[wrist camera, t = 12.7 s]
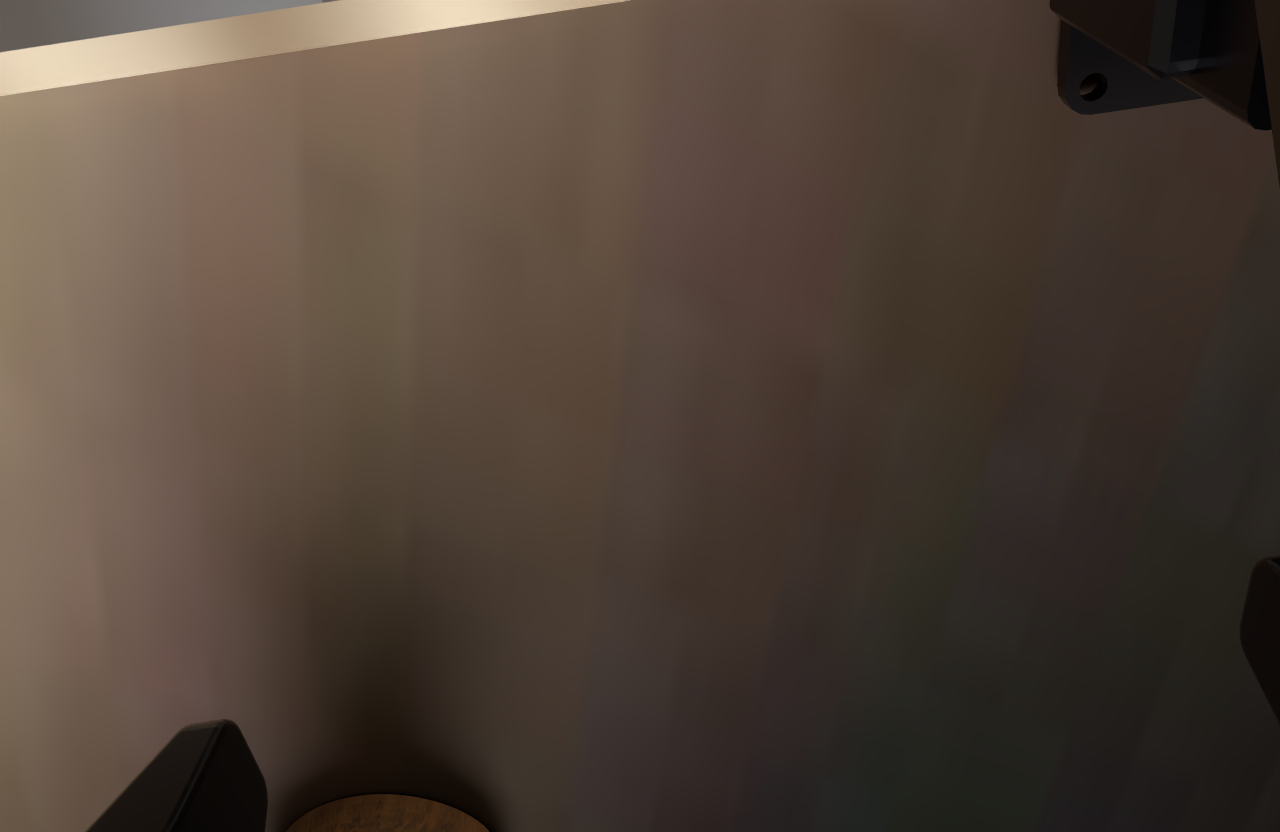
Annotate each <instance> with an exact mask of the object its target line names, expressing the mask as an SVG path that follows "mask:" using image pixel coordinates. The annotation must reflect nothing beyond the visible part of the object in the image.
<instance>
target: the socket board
mask: <svg viewBox="0 0 1280 832" xmlns="http://www.w3.org/2000/svg"><path fill="white" fill-rule="evenodd" d="M622 1H629V0H0V96H4V95H10V94H17V93H23V92H30V91H37V90H43V89H50V88H56V87H63V86H69V85H76V84H83V83H89V82H96V81H102V80H109V79H116V78H122V77H129V76H135V75H142V74H148V73H155V72H162V71H168V70H175V69H181V68H188V67H195V66H201V65H208V64H214V63H221V62H227V61H234V60H241V59H247V58H254V57H260V56H267V55H274V54H280V53H287V52H293V51H300V50H306V49H313V48H320V47H326V46H333V45H339V44H346V43H353V42H359V41H366V40H372V39H379V38H385V37H392V36H399V35H405V34H412V33H418V32H425V31H432V30H438V29H445V28H451V27H458V26H464V25H471V24H478V23H484V22H491V21H497V20H504V19H511V18H517V17H524V16H530V15H537V14H543V13H550V12H557V11H563V10H570V9H576V8H583V7H590V6H596V5H603V4H609V3H616V2H622Z"/></svg>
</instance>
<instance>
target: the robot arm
mask: <svg viewBox="0 0 1280 832" xmlns="http://www.w3.org/2000/svg"><path fill="white" fill-rule="evenodd" d="M1050 8H1051V10H1052V11H1053V12H1054V13H1055V14H1056V15H1057V16H1058V17H1060V18H1061V19H1062V30H1061V43H1060V57H1059V70H1058V83H1057V86H1058V94H1059V96H1060V98H1061V99H1062V101H1063V102H1064V103H1065V104H1066V105H1067V106H1068V107H1070V108H1071V109H1072V110H1074V111H1076V112H1078V113H1080V114H1089V115H1092V114H1098V113H1105V112H1112V111H1119V110H1126V109H1133V108H1139V107H1146V106H1153V105H1160V104H1167V103H1174V102H1181V101H1187V100H1194V99H1201V98H1205V99H1207V100H1208V101H1210V102H1212V103H1213V104H1215V105H1216V106H1218V107H1220V108H1221V109H1223V110H1225V111H1226V112H1228V113H1230V114H1231V115H1233V116H1235V117H1236V118H1238V119H1240V120H1241V121H1243V122H1245V123H1246V124H1248V125H1250V126H1251V127H1253V128H1255V129H1259V130H1272V134H1273V141H1274V148H1275V156H1276V163H1277V171H1278V178H1279V186H1280V0H1050ZM1093 73H1098V75H1099V81H1098V84H1097V86H1096V87H1095V88H1094V89H1093V91H1092V92H1090V93H1088V94H1085V95H1080V92H1079V88H1080V85H1081V82H1082V81H1083V80H1084V79H1085V78H1086V77H1087V76H1088V75H1091V74H1093ZM1240 640H1241V645H1242V648H1243V651H1244V654H1245V656H1246V658H1247V660H1248V662H1249V664H1250V666H1251V668H1252V670H1253V672H1254V674H1255V676H1256V678H1257V680H1258V682H1259V684H1260V686H1261V688H1262V690H1263V692H1264V694H1265V696H1266V698H1267V700H1268V702H1269V704H1270V706H1271V708H1272V710H1273V712H1274V714H1275V716H1276V718H1277V720H1278V722H1279V724H1280V556H1274V557H1267V558H1264V559H1261V560H1259V561H1258V562H1257V563H1256V564H1255V566H1254V567H1253V569H1252V572H1251V577H1250V581H1249V586H1248V591H1247V595H1246V600H1245V605H1244V609H1243V614H1242V618H1241V623H1240ZM267 806H268V796H267V787H266V783H265V780H264V777H263V775H262V773H261V770H260V768H259V766H258V764H257V762H256V760H255V758H254V756H253V754H252V752H251V750H250V748H249V746H248V744H247V742H246V740H245V738H244V736H243V734H242V732H241V730H240V729H239V727H238V726H237V724H236V723H234V722H233V721H231V720H227V719H221V720H215V721H208V722H202V723H195V724H190V725H188V726H185V727H184V728H182V729H181V730H179V731H178V732H177V733H176V734H175V735H174V736H173V737H172V738H171V740H170V741H169V742H168V743H167V744H166V745H165V746H164V747H163V748H162V749H161V750H160V751H159V752H158V753H157V755H156V756H155V757H154V758H153V759H152V760H151V761H150V762H149V763H148V764H147V765H146V766H145V767H144V768H143V770H142V771H141V772H140V773H139V774H138V775H137V776H136V777H135V778H134V779H133V780H132V781H131V782H130V783H129V785H128V786H127V787H126V788H125V789H124V790H123V791H122V792H121V793H120V794H119V795H118V796H117V797H116V798H115V800H114V801H113V802H112V803H111V804H110V805H109V806H108V807H107V808H106V809H105V810H104V811H103V812H102V814H101V815H100V816H99V817H98V818H97V819H96V820H95V821H94V822H93V823H92V824H91V825H90V826H89V827H88V829H87V830H86V831H85V832H265V828H266V817H267Z"/></svg>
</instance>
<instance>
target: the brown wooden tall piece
mask: <svg viewBox="0 0 1280 832" xmlns="http://www.w3.org/2000/svg"><path fill="white" fill-rule="evenodd" d="M286 832H489V830H488V829H487V828H486V827H485V826H484V825H483V824H481V823H480V822H479V821H477V820H476V819H474V818H473V817H471V816H469V815H468V814H466V813H464V812H462V811H460V810H458V809H456V808H453V807H450V806H448V805H445V804H442V803H439V802H435V801H432V800H427V799H423V798H418V797H413V796H405V795H394V794H373V795H361V796H354V797H348V798H344V799H340V800H336V801H333V802H329V803H327V804H324V805H322V806H319V807H317V808H315V809H313V810H311V811H310V812H308V813H306V814H305V815H303V816H302V817H300V818H299V819H298V820H296V821H295V822H294V823H293V824H292V825H291V826H290V827H289V828H288V829H287V830H286Z"/></svg>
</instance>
